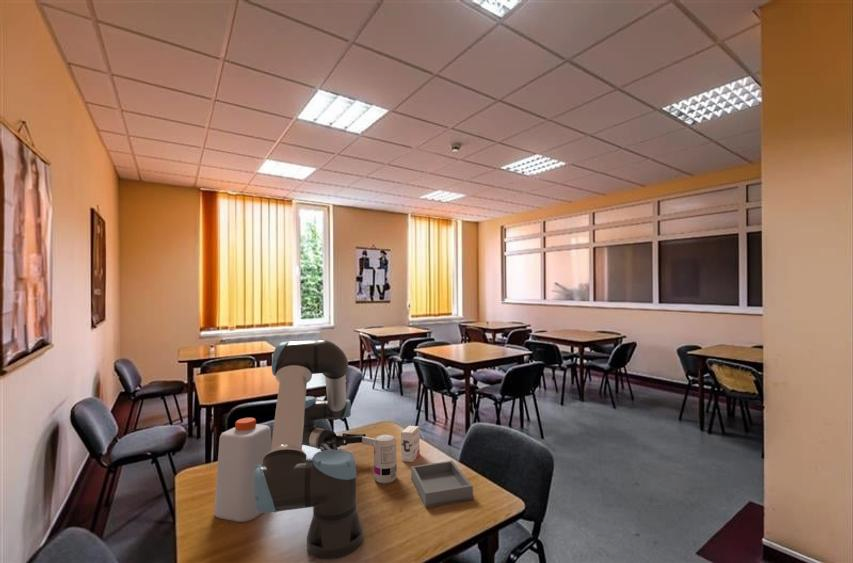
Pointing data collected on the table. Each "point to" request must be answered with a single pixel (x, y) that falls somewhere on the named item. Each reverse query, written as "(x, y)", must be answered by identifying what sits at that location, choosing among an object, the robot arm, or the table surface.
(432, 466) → the tote
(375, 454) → the supplement can
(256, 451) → the plastic bottle
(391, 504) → the table surface
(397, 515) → the table surface
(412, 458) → the ink box
